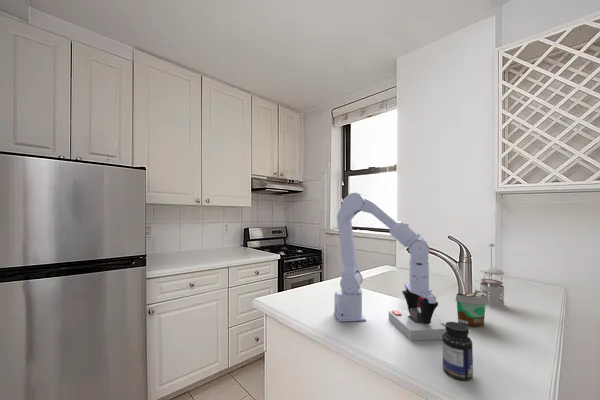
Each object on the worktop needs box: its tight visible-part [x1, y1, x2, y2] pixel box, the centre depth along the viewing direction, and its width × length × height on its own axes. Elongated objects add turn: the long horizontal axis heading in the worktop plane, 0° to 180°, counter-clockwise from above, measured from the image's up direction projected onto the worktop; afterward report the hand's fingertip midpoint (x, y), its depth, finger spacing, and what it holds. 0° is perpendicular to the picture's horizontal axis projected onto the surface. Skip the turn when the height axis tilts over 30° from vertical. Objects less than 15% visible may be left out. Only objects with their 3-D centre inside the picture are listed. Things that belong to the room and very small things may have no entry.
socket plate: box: [388, 310, 447, 342], centre depth 83 cm, size 14×14×4 cm
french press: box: [479, 242, 508, 311], centre depth 105 cm, size 10×12×25 cm
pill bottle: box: [441, 321, 474, 381], centre depth 61 cm, size 6×6×11 cm
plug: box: [410, 308, 423, 323], centre depth 83 cm, size 4×4×6 cm
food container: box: [455, 289, 489, 328], centre depth 87 cm, size 12×6×10 cm, turn 118°
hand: (419, 317), depth 83 cm, fingers open, 7 cm apart
